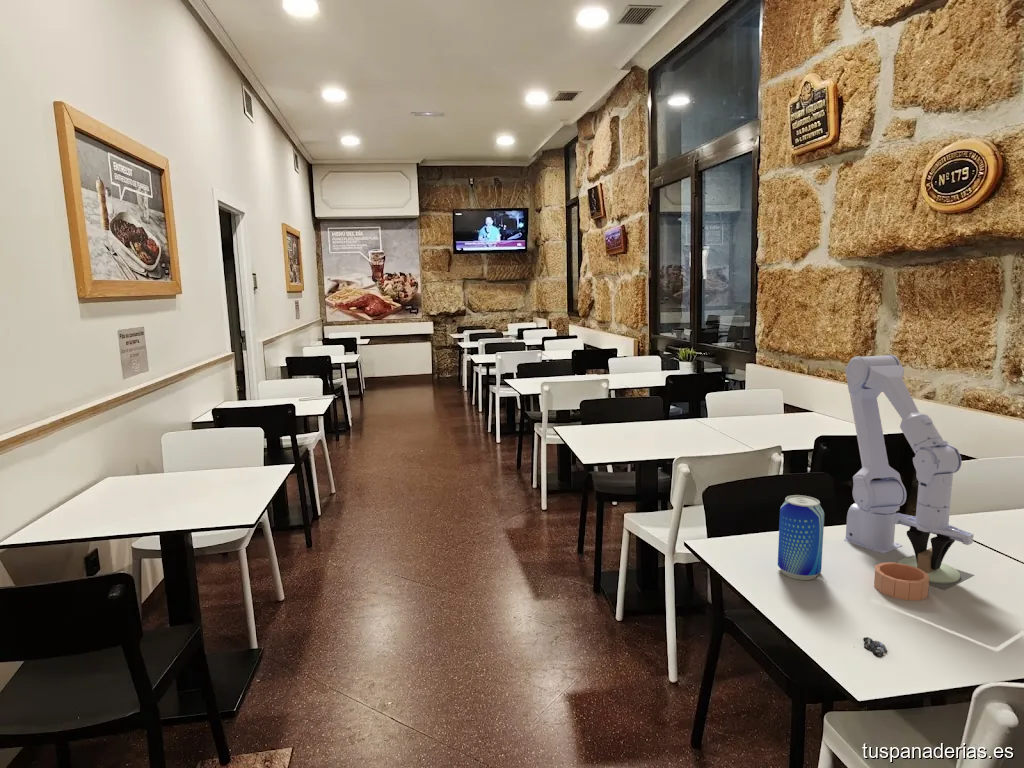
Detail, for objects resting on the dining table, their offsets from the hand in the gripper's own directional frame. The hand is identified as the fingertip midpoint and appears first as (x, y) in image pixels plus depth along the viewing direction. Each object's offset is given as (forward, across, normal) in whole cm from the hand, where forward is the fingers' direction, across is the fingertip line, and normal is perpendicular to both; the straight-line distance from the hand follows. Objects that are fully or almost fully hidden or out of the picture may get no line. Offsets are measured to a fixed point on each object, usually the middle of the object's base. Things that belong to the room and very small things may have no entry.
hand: (928, 566), depth 134 cm
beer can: (+2, -15, -22) cm, 26 cm away
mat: (+2, 0, 0) cm, 2 cm away
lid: (+1, 0, 0) cm, 1 cm away
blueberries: (+2, +9, -36) cm, 38 cm away
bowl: (+2, +1, -12) cm, 13 cm away
